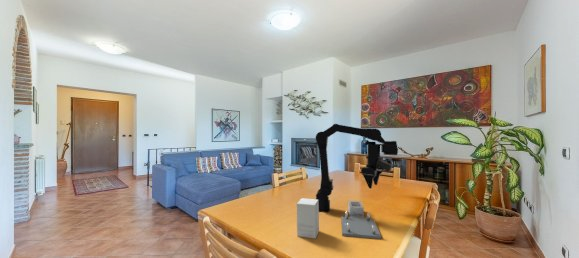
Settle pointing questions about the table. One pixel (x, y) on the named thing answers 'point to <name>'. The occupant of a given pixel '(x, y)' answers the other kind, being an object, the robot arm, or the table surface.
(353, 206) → the block
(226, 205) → the table surface
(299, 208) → the supplement box
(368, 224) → the pin tray
